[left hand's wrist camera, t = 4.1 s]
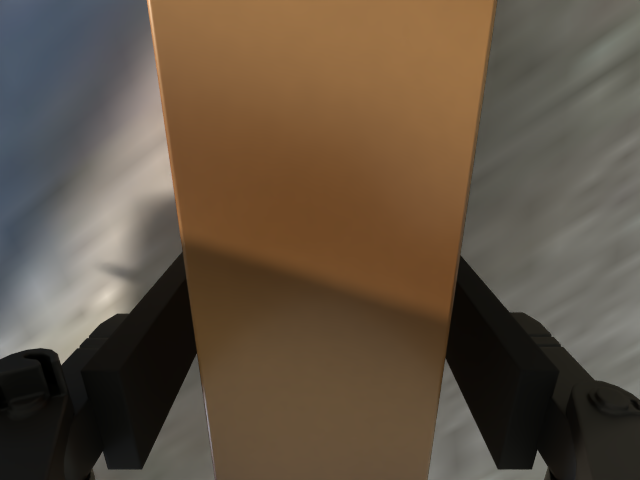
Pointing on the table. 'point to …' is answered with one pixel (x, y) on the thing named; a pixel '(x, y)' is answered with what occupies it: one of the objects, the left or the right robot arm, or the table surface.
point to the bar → (321, 220)
